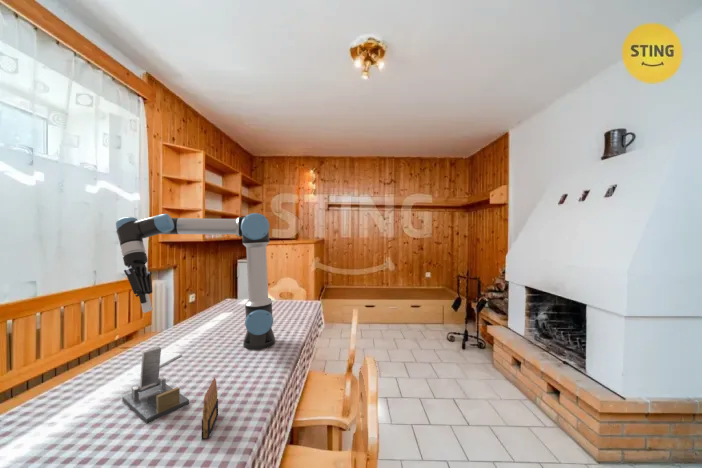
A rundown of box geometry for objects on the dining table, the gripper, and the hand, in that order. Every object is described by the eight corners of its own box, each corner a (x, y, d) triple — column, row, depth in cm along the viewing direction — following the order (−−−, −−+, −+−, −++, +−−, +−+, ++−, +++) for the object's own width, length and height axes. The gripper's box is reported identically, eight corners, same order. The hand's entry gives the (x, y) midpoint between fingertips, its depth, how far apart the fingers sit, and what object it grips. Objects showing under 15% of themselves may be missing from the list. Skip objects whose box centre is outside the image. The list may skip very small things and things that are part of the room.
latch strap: (137, 391, 97) (140, 351, 95) (157, 383, 101) (160, 345, 100) (139, 394, 95) (142, 353, 94) (160, 386, 100) (163, 348, 99)
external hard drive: (181, 357, 132) (158, 369, 120) (166, 355, 133) (141, 368, 121) (181, 353, 132) (158, 366, 120) (166, 352, 133) (141, 364, 121)
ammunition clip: (211, 415, 89) (211, 376, 89) (218, 414, 89) (218, 375, 89) (201, 439, 78) (201, 395, 78) (208, 438, 79) (208, 394, 79)
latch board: (122, 401, 96) (122, 381, 96) (162, 385, 106) (162, 367, 106) (146, 424, 85) (146, 401, 85) (189, 404, 95) (189, 384, 95)
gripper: (136, 260, 122) (148, 314, 117) (112, 255, 109) (125, 315, 104) (154, 254, 123) (167, 307, 118) (132, 247, 110) (146, 307, 105)
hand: (147, 311), depth 111 cm, fingers closed
